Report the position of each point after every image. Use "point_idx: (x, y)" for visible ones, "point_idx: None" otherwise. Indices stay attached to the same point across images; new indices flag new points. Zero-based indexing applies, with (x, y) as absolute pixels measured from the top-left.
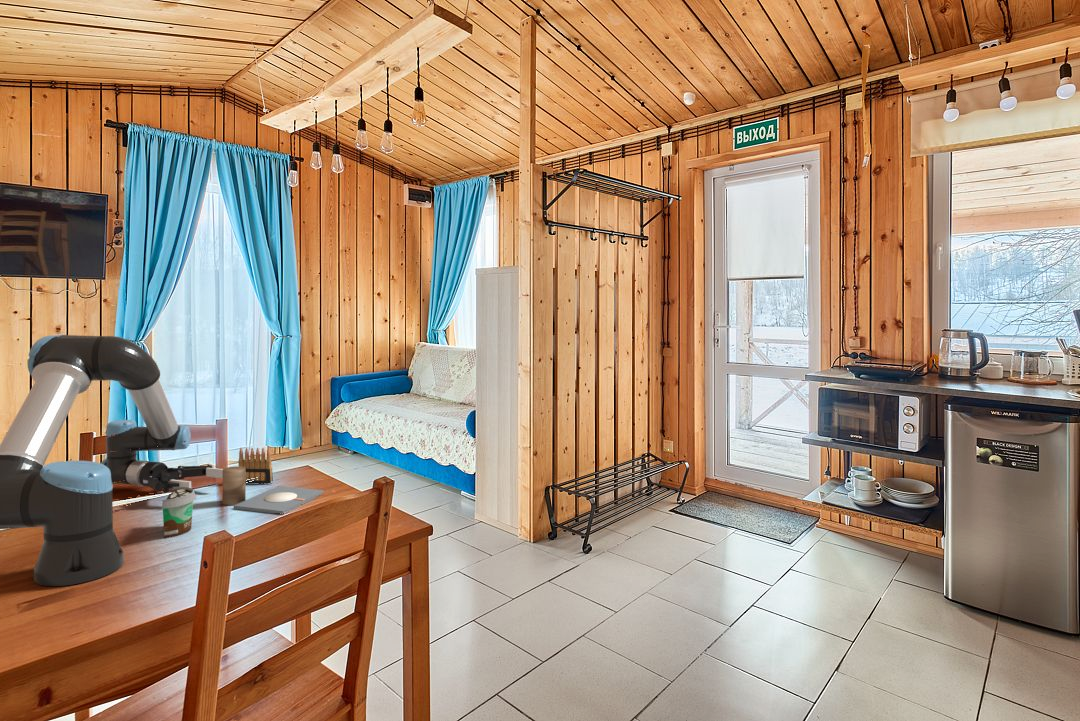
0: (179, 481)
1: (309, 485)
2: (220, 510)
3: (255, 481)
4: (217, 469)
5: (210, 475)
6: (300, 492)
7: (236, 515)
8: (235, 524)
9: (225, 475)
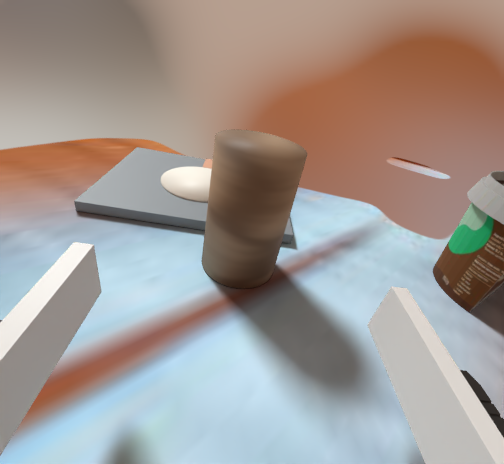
0: (448, 355)
1: (51, 171)
2: (314, 264)
3: None
4: (58, 289)
5: (25, 400)
6: (155, 166)
7: (321, 226)
8: (358, 214)
9: (302, 170)
